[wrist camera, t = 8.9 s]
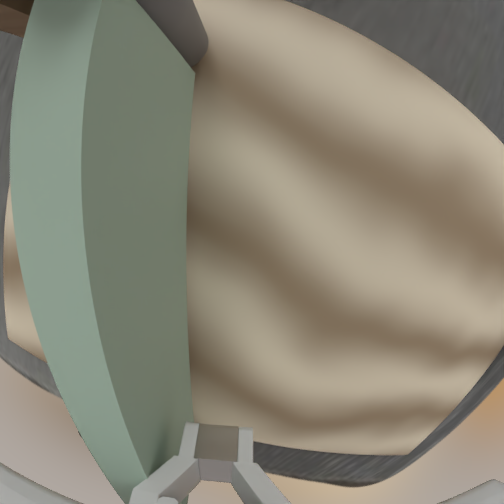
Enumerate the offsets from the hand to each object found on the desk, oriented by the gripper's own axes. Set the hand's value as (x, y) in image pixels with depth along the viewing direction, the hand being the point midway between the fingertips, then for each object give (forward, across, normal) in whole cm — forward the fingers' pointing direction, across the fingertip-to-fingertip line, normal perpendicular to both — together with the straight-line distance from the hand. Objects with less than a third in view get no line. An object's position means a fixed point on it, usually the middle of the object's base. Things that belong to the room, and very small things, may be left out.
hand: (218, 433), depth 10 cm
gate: (+5, +3, -4) cm, 7 cm away
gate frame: (+6, -4, -3) cm, 8 cm away
